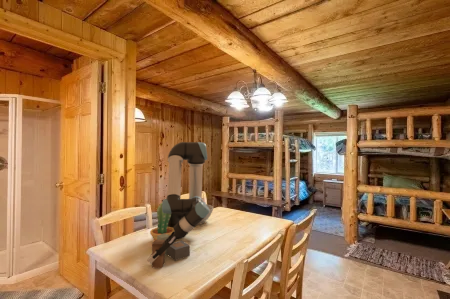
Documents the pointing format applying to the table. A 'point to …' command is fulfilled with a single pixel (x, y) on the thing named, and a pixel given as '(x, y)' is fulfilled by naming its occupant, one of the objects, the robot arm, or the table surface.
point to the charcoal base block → (178, 250)
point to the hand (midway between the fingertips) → (151, 258)
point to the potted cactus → (161, 224)
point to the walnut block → (160, 259)
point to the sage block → (163, 238)
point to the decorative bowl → (207, 215)
